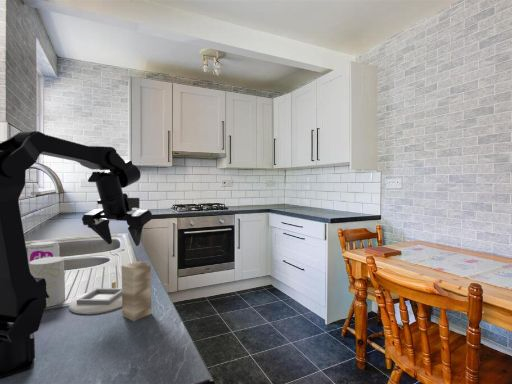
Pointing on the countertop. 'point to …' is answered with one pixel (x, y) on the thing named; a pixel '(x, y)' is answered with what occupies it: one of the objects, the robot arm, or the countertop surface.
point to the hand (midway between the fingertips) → (124, 244)
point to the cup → (51, 277)
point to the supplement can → (43, 250)
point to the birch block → (136, 290)
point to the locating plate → (97, 301)
